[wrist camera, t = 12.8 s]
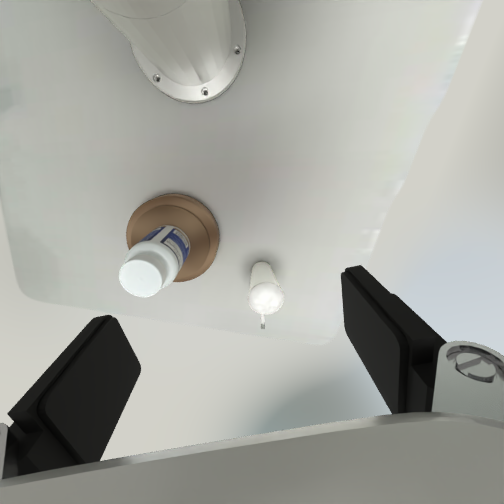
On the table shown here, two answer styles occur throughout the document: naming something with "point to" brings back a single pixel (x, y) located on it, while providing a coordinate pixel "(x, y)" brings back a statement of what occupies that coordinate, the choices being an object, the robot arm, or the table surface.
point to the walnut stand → (185, 218)
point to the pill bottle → (154, 261)
